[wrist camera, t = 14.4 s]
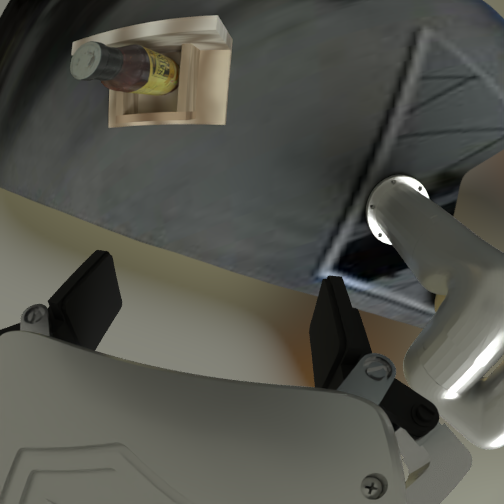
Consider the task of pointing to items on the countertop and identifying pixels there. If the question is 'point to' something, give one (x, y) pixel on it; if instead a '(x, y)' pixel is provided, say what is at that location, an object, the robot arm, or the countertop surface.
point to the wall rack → (190, 78)
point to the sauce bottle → (126, 68)
